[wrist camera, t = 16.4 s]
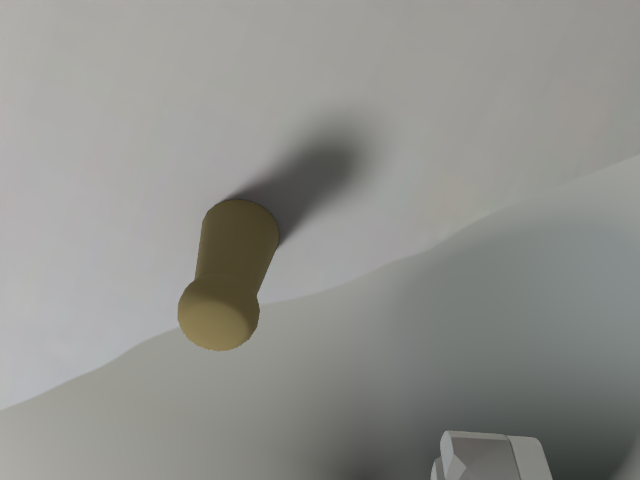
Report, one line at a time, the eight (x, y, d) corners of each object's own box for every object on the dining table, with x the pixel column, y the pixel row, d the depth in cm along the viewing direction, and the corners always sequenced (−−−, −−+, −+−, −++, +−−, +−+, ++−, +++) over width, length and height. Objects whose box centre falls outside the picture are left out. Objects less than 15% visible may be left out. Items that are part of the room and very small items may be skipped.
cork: (228, 184, 43) (197, 276, 34) (295, 228, 45) (281, 326, 36) (187, 237, 46) (147, 335, 37) (251, 276, 48) (228, 378, 38)
